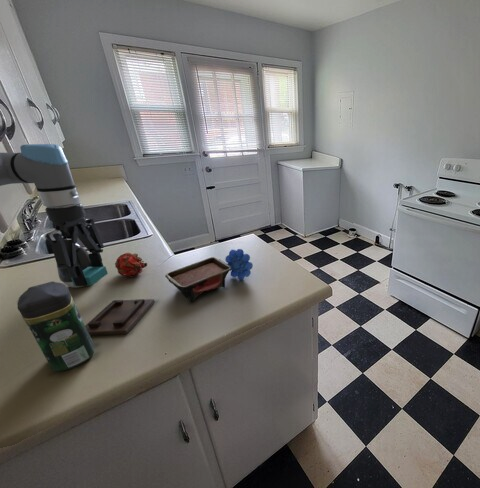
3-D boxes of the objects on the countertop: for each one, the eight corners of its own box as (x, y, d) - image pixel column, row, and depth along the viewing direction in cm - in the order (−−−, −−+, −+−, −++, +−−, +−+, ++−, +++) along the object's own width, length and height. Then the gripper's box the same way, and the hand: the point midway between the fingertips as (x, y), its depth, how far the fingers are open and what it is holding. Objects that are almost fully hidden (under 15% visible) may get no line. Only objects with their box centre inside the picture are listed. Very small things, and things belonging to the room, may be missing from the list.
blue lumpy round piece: (261, 277, 97) (258, 246, 92) (249, 286, 91) (245, 254, 87) (236, 270, 102) (232, 241, 97) (223, 278, 96) (218, 248, 91)
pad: (91, 285, 79) (89, 277, 78) (73, 285, 79) (70, 278, 78) (108, 273, 85) (105, 266, 84) (91, 274, 85) (88, 266, 84)
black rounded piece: (77, 294, 87) (58, 251, 81) (57, 288, 90) (38, 246, 84) (109, 279, 96) (95, 239, 90) (90, 274, 99) (75, 235, 93)
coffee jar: (50, 354, 64) (14, 287, 57) (92, 337, 69) (64, 274, 62) (51, 379, 58) (10, 307, 50) (97, 359, 63) (67, 291, 55)
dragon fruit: (127, 271, 104) (144, 284, 99) (103, 268, 96) (120, 281, 91) (137, 251, 105) (155, 263, 100) (114, 246, 97) (132, 258, 92)
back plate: (127, 333, 70) (124, 326, 69) (78, 336, 70) (75, 328, 69) (154, 302, 83) (152, 295, 82) (114, 303, 82) (111, 297, 81)
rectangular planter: (235, 293, 91) (234, 264, 89) (178, 309, 79) (176, 276, 76) (216, 280, 101) (215, 255, 98) (163, 293, 88) (160, 264, 86)
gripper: (45, 215, 64) (79, 297, 73) (103, 196, 82) (124, 263, 91) (11, 215, 63) (49, 297, 72) (77, 196, 82) (101, 263, 91)
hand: (91, 278), depth 82 cm, fingers closed on pad, 7 cm apart
